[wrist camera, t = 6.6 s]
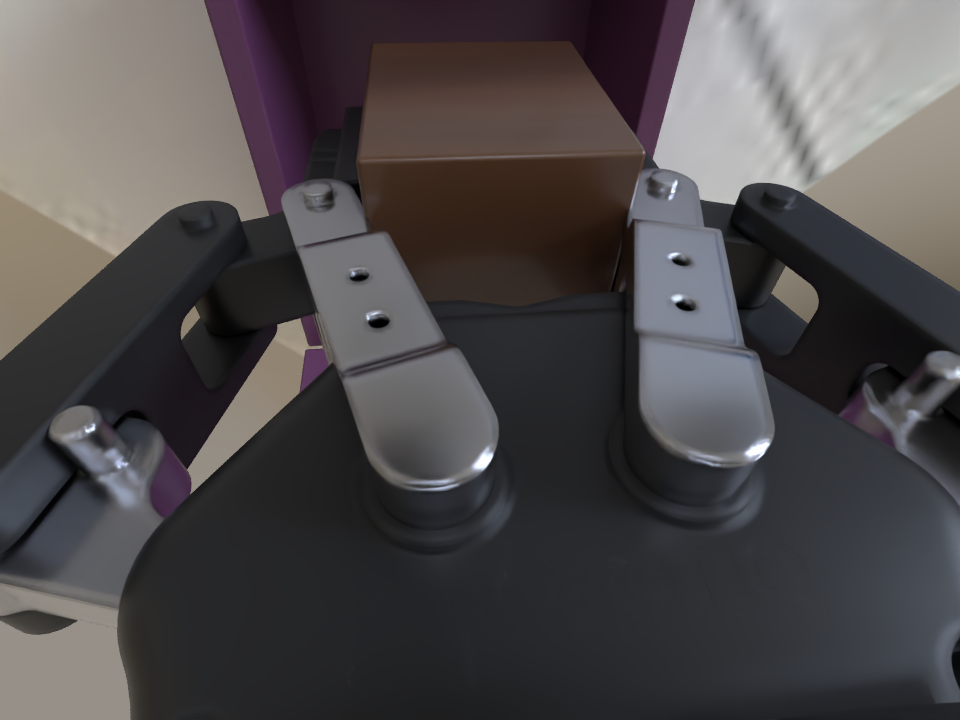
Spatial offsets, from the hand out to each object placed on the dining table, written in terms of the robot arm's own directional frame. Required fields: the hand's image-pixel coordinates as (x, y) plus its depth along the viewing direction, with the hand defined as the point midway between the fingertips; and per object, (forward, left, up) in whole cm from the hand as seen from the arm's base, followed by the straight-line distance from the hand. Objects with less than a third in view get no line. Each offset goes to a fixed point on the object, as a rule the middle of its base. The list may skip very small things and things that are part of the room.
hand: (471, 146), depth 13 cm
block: (0, 0, 0) cm, 0 cm away
